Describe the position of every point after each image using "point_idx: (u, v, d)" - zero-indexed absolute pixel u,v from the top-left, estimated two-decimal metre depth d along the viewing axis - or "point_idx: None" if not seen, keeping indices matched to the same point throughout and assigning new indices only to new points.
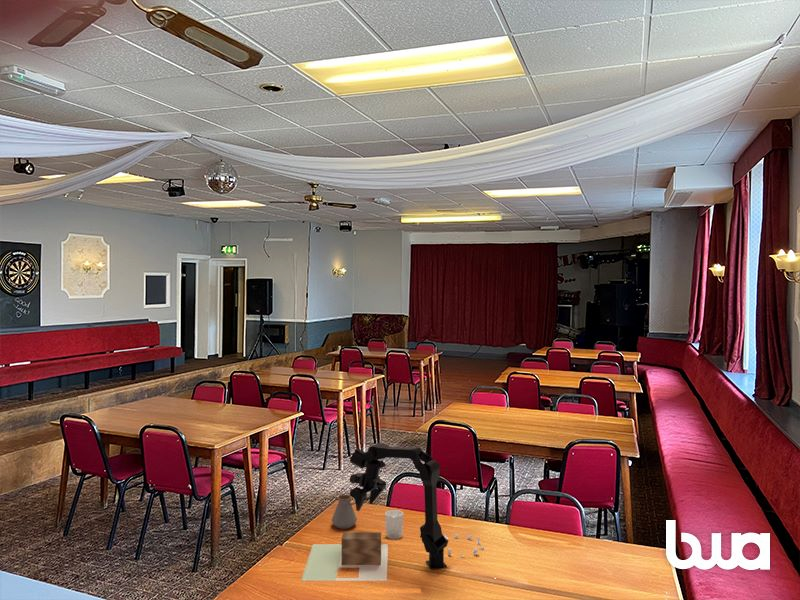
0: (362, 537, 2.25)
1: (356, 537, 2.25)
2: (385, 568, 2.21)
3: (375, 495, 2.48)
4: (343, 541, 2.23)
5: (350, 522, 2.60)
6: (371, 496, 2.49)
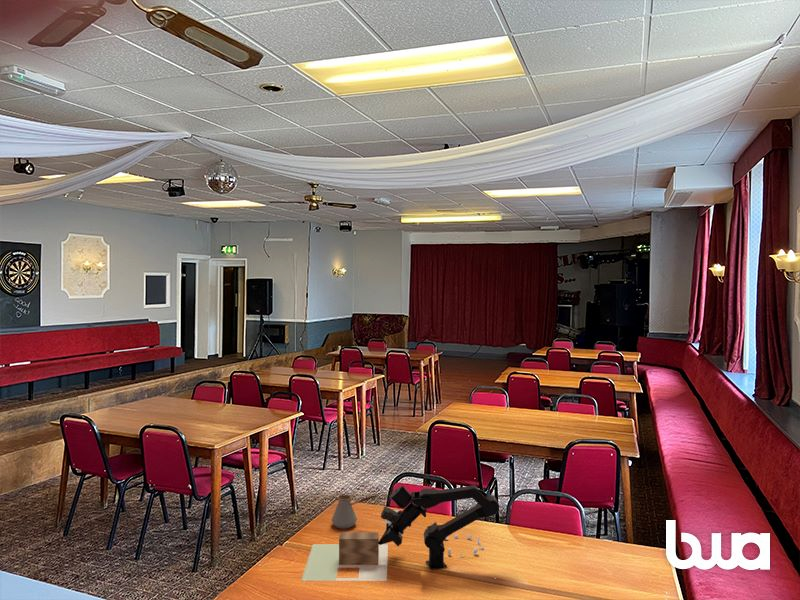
0: (360, 537, 2.25)
1: (353, 536, 2.25)
2: (385, 568, 2.21)
3: None
4: (341, 541, 2.23)
5: (350, 522, 2.60)
6: None
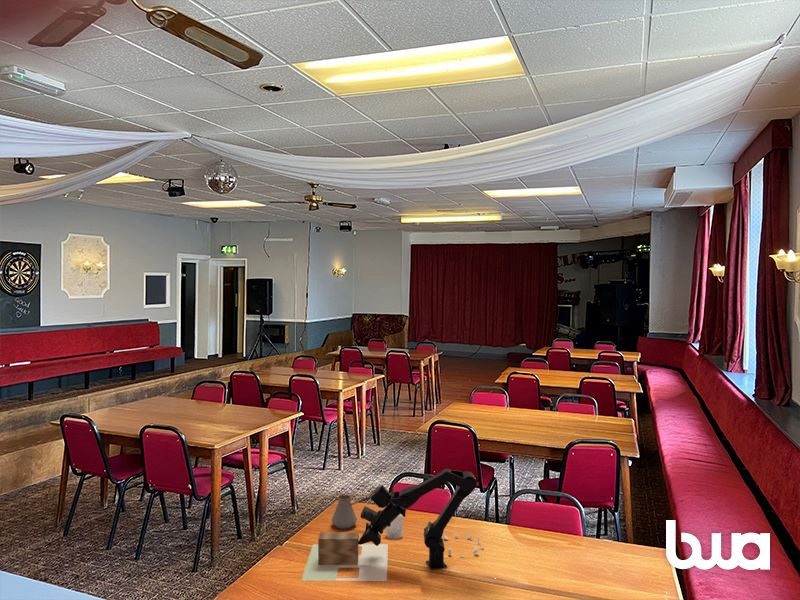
0: (339, 537, 2.25)
1: (332, 537, 2.25)
2: (385, 568, 2.21)
3: None
4: (320, 541, 2.23)
5: (350, 522, 2.60)
6: None
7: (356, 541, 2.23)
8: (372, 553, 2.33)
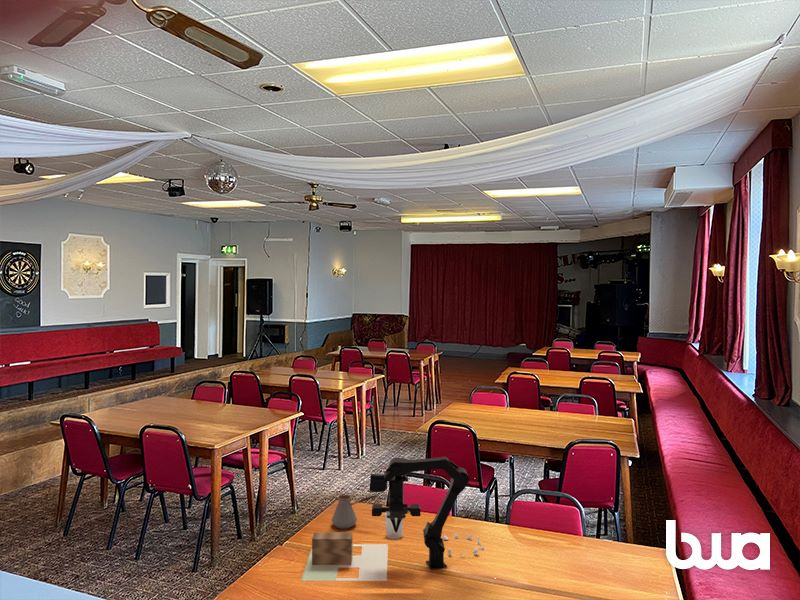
0: (333, 537, 2.25)
1: (326, 537, 2.25)
2: (385, 568, 2.21)
3: None
4: (313, 541, 2.23)
5: (350, 522, 2.60)
6: (395, 524, 2.26)
7: (350, 541, 2.23)
8: (372, 553, 2.33)
